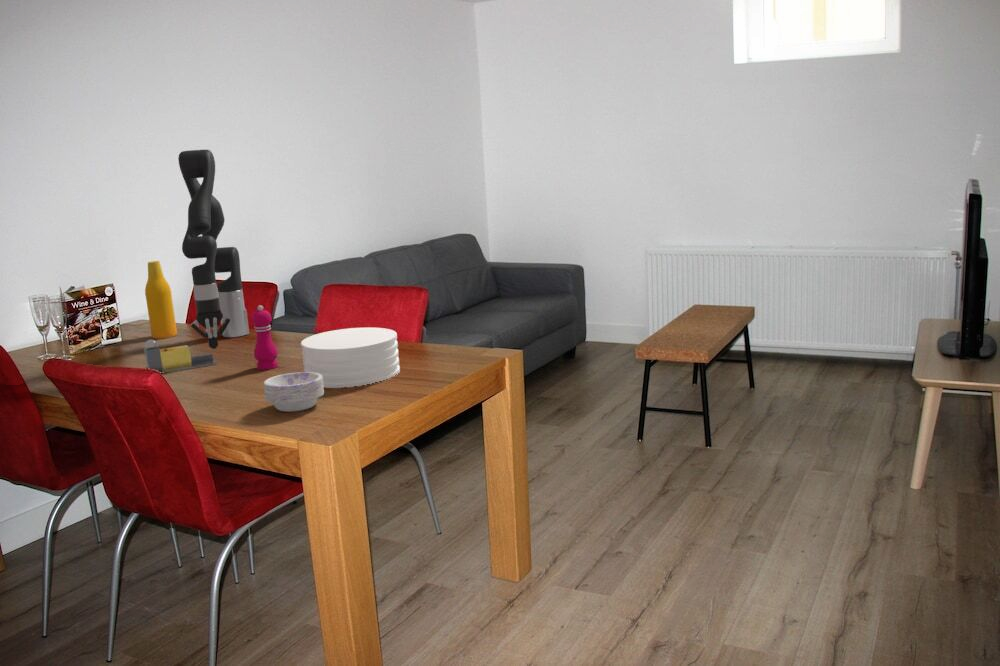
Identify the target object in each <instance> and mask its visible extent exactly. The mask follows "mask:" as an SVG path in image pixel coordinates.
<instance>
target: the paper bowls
mask: <svg viewBox="0 0 1000 666" xmlns="http://www.w3.org/2000/svg"><path fill="white" fill-rule="evenodd" d="M323 386H324V385H323V377H322V375H321V374H318V373H314V372H304V371H300V372H299V371H298V372H289V373H282V374H278V375H275V376H271V377H269V378H267V379H265V380H264V381H263V391H264V398H265V401H266V402H267V403H270V404H272V405H273V406H274V408H275V409H276V410H278V411H280V412H286V413H293V412H295V413H296V412H301V411H305V410H309V409H310V408H313V407H314V406H316V404H317V402H318V400H319V398H322V397H323V396H324V394H325V389H324V387H323Z"/></svg>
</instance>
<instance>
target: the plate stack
mask: <svg viewBox="0 0 1000 666" xmlns="http://www.w3.org/2000/svg"><path fill="white" fill-rule="evenodd" d="M397 339H398V333H397V332H396V331H395V330H393V329H389V328H384V327H349V328H340V329H334V330H329V331H323V332H319V333H316V334H313V335H310V336H307V337H305V338H304V339H303V340H301V342H300V347H301V349H302V351H301V354H302V357H303V359H302V363H303V366H304V367H303V372H314V373H318V374H321V375H322V377H323V385H324V386H323V387H324V388H326V389H342V387H343V388H344V387H347V388H355V387H354V386H357V387H363V386H362V385H364V386H368V385H367V384H370V385H373V384H372V383H374V384H376V383H375V382H378V383H380V382H379V381H382V382H384V381H383V380H385V381H387V380H386V379H388V380H390V379H392V378H391V377H393V376H394V377H396V376H397V375H399V374H400V372H401V366H400V358H399V348H398V347H399V343H398V340H397ZM398 373H399V374H398ZM396 374H397V375H396ZM395 375H396V376H395ZM394 377H393V378H394ZM389 378H390V379H389ZM344 389H345V388H344Z"/></svg>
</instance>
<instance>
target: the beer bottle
mask: <svg viewBox="0 0 1000 666" xmlns="http://www.w3.org/2000/svg"><path fill="white" fill-rule="evenodd" d="M144 293H145V294H144V295H145V299H146V301H145V302H146V306H147V312H148V318H149V319H148V320H149V327H150V334H151V337H152V339H154V340H156V339H158V340H159V339H169V338H173V337H175V336H176V335H178V330H177V323H176V317H175V310H174V304H173V296H172V290H171V287H170V284H169V283H168V281H167V280H166V277H165V276H164V273H163V270H162V265H161V261H159V260H151V261H147V282H146V284H145V290H144Z"/></svg>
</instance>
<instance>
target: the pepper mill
mask: <svg viewBox="0 0 1000 666" xmlns="http://www.w3.org/2000/svg"><path fill="white" fill-rule="evenodd" d="M272 318H273V317H272V315H271V313H270V312H269V311H267V310H265V309H264V306H263V305H260V304H259V305H258V306H257V310H256V311H254V312H253V313H252V315H251V323H252V324H253V325H254V327H253V328H254V331H255V332H256V344H255V346H254V351H253V357H254V359H255V360H256V361H257V363H256V368H257V370H260V371H265V370H274V369H276V368H277V367H278V366H279V365H278V360H277V358H278V355H279V353H278V349H277V346H276V345H275V343H274V341H273V339H272V336H271V330H272V325H271V322H272Z"/></svg>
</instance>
